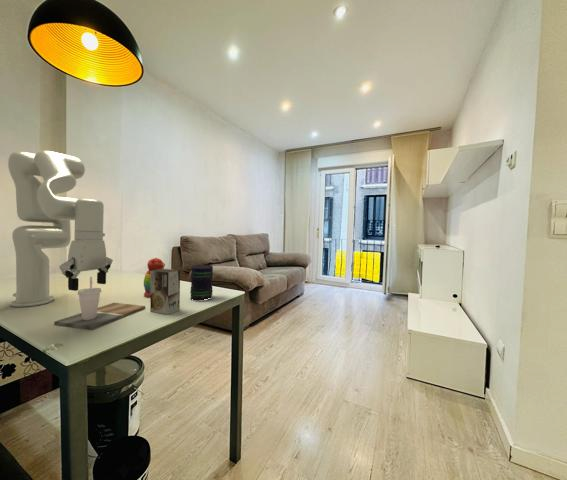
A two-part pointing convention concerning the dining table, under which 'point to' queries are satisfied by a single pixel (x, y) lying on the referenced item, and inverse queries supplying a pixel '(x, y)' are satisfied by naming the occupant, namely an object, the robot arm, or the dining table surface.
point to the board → (100, 316)
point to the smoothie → (89, 301)
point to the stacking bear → (152, 265)
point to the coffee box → (164, 291)
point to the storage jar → (201, 282)
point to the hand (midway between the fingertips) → (88, 286)
